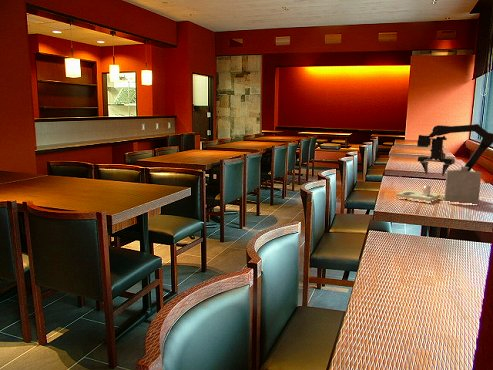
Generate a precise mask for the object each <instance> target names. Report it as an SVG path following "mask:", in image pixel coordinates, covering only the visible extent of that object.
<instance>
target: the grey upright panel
mask: <svg viewBox="0 0 493 370" xmlns="http://www.w3.org/2000/svg"><path fill="white" fill-rule="evenodd" d="M445 178H446V179H445V191H444V200H443V201H450V202H459V203H472V204H478V205H479V201H480V191H481V182H482V181H481V180H482V172H481V171H471V170H470V171H468V167H464V166H460V169H459V170H458V169H448V170H446V177H445Z"/></svg>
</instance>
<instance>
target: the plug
mask: <svg viewBox="0 0 493 370" xmlns="http://www.w3.org/2000/svg"><path fill="white" fill-rule="evenodd" d="M431 189H432V187H431V186H430V185H423V189H422V191H423V196H428V197H430V193H431Z"/></svg>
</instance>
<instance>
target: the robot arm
mask: <svg viewBox="0 0 493 370" xmlns="http://www.w3.org/2000/svg"><path fill="white" fill-rule="evenodd" d="M468 132H469V133H471V132H475V133H476V134H477V135H478V136H479V137H481V139H480V140H481V141H480V143H479V145H478V147H477V148H476V149H475V151H474V152H473V154H472V155H471V156H470V158H469V159H468V160H467V162H466V163H465V164H464V166H463V167H468V171H471V170H472V168H473V167H474V166H475V164H476V163H477V162H478V160H479V159H480V157H482V155H483V154H484V152H485V151H486V150H487V149H488V148H489V147H491V146H492V144H493V132H488V131H487V130H486V129H485V128H483V127H482V126H481V125H480V124H478V123H475V124H464V125H452V126H451V125H443V124H441V125H439V124H437V125H435V126H433V128H432V132H431V133H430V134H429V135H423V134H419V135H418V139H417V142H416V143H417V145H416V146H417V148H429V147H430V146H431V148H430V156H426V155H425V156H424V155H422V156H421V155H420V156H418V158H417V162H419V164H421V166H422V168H423V170H424V173H425V175H428V169H429V168H428V166H429V162H434V163H435V162H437V163H444V164H442V172H441V175H442V177H444V176H445V175H446V173H447V169H448V168H449V167H450V166H452V165H454V164H455V163H456V162H455V161H456V159H455V158H453V157H451V158H450V157H447V158H446V155H447V154H446V153H445V152H444V149H443V146H444V141H447V140H448V138H447V137H446V136H445V135H448V134H453V133H456V134H457V133H468ZM434 137H435V138H434ZM457 170H460V169H459V168H458V169H457Z"/></svg>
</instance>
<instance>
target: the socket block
mask: <svg viewBox="0 0 493 370" xmlns="http://www.w3.org/2000/svg"><path fill="white" fill-rule="evenodd" d="M397 196H400V197H406V198H413V199H419V200H426V201H432V200H435V199H438V198H440V197H441V194H437V193H431V192H430V197H428V196H423V192H422V191H417V190H410V189H407V190H403V191H401V192H397V193H396V197H397Z"/></svg>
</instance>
